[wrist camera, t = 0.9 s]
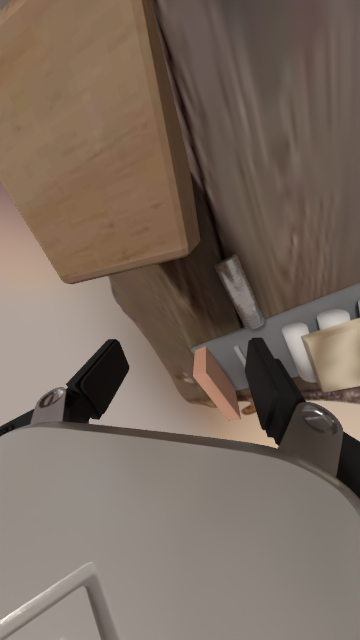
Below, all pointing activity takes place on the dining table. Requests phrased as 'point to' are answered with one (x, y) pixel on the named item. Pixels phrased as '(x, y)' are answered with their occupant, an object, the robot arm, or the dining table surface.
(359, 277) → the dining table surface
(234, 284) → the roller
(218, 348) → the roller bed
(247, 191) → the dining table surface
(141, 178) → the wooden block
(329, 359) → the slab
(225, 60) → the dining table surface
